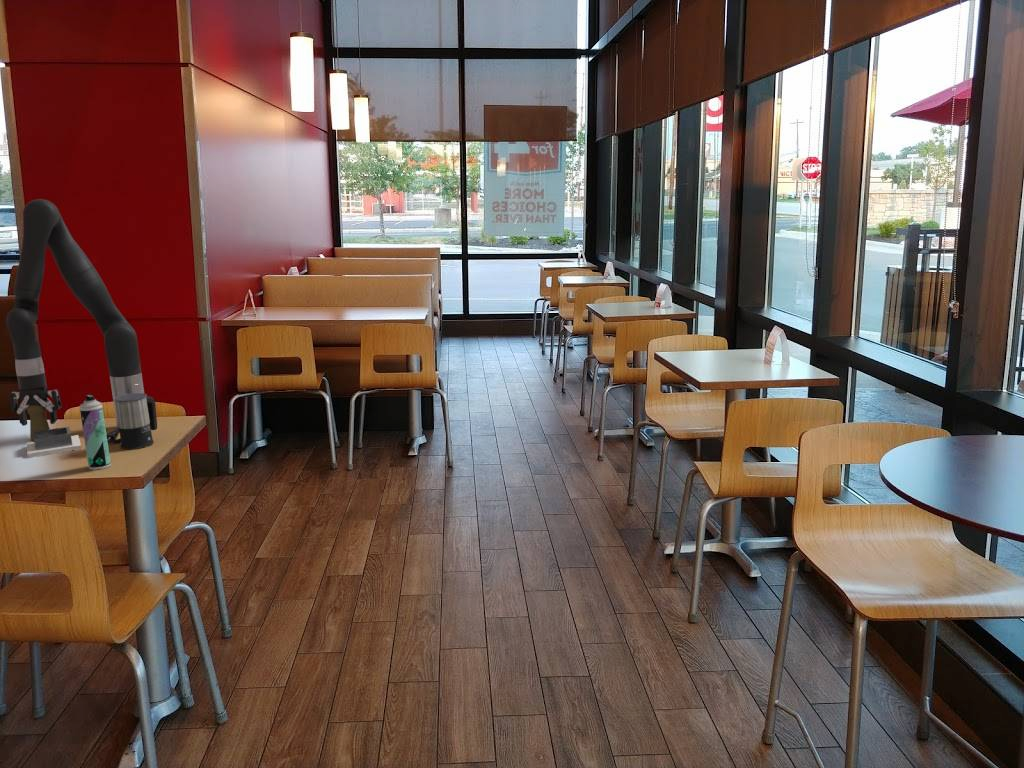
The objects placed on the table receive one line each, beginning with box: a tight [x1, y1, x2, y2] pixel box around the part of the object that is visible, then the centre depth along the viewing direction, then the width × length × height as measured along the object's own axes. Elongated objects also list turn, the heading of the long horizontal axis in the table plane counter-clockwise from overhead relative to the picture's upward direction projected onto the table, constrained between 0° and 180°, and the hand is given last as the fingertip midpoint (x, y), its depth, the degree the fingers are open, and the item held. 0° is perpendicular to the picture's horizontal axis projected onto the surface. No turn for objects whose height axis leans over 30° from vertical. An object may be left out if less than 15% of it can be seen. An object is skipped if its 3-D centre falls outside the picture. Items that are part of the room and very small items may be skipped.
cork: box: [26, 405, 51, 442], centre depth 278 cm, size 6×6×11 cm
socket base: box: [26, 434, 83, 458], centre depth 268 cm, size 14×14×1 cm
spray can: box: [79, 394, 112, 471], centre depth 244 cm, size 6×6×20 cm
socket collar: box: [33, 426, 72, 451], centre depth 267 cm, size 10×10×4 cm
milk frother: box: [106, 392, 158, 450], centre depth 267 cm, size 14×16×15 cm
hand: (38, 424), depth 278 cm, fingers open, 8 cm apart
